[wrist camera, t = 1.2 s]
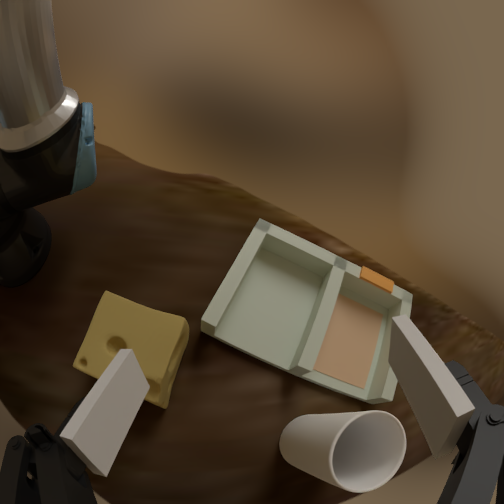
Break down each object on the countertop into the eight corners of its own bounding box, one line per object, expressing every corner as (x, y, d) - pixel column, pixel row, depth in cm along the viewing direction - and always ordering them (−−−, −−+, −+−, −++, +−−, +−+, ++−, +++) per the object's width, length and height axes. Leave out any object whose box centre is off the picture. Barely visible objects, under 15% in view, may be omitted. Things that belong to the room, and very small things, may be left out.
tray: (372, 404, 35) (394, 400, 30) (200, 330, 38) (201, 317, 33) (395, 306, 45) (414, 293, 40) (253, 237, 47) (260, 215, 43)
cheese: (168, 409, 31) (156, 409, 23) (96, 377, 31) (65, 365, 23) (191, 339, 37) (189, 316, 28) (122, 313, 37) (102, 283, 28)
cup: (270, 428, 32) (316, 437, 18) (323, 405, 34) (390, 394, 21) (291, 477, 28) (346, 508, 15) (342, 451, 31) (415, 460, 17)
